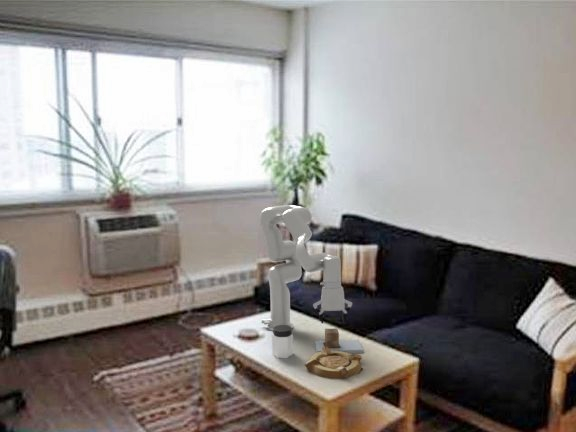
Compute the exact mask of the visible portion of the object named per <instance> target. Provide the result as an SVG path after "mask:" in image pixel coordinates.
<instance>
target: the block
mask: <svg viewBox="0 0 576 432" xmlns="http://www.w3.org/2000/svg"><path fill="white" fill-rule="evenodd" d="M339 337H340V332H339V329H338V328H324V340H325V347H328V348H339V340H340V338H339Z"/></svg>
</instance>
